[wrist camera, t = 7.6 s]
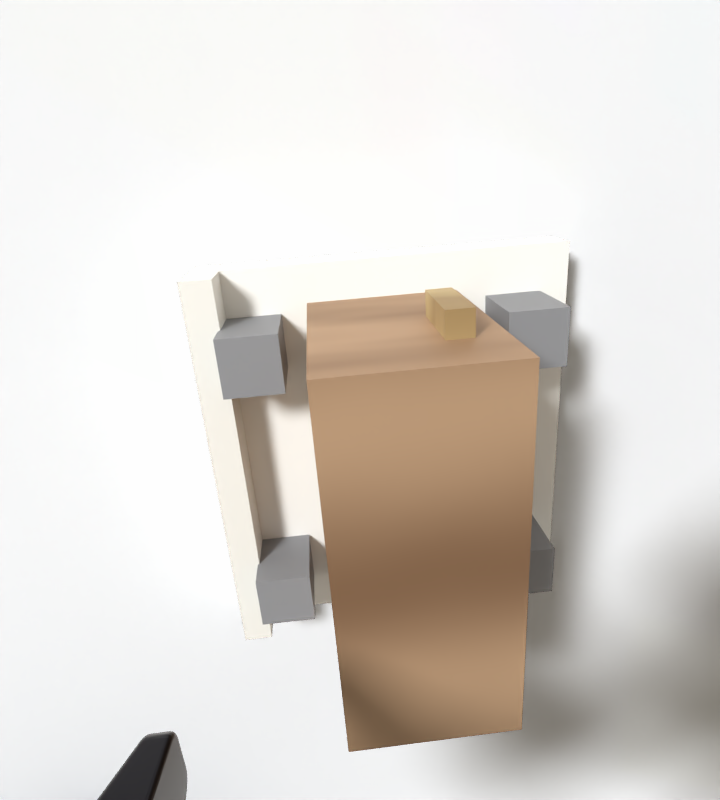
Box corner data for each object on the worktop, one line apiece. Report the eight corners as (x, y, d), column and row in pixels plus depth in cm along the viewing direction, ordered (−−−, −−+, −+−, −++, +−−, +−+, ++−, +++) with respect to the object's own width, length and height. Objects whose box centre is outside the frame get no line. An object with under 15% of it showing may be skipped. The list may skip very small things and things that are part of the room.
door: (458, 564, 19) (521, 729, 13) (336, 577, 19) (348, 752, 13) (455, 267, 15) (541, 323, 10) (304, 280, 15) (302, 346, 9)
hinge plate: (535, 555, 20) (573, 620, 17) (252, 587, 20) (243, 660, 17) (551, 235, 16) (606, 250, 13) (195, 266, 16) (169, 289, 13)
